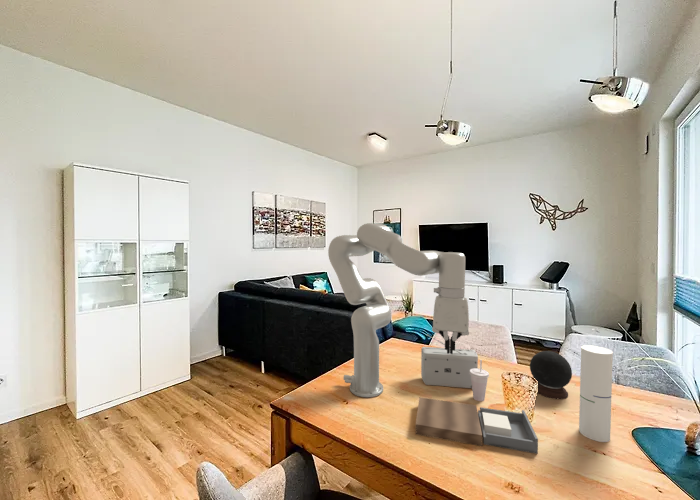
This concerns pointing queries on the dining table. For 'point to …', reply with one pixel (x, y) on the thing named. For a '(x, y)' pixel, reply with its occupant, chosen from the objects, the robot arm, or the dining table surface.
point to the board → (448, 421)
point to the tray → (512, 432)
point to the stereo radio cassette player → (447, 366)
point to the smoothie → (479, 382)
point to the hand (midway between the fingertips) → (449, 352)
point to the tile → (496, 424)
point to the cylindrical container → (595, 392)
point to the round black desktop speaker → (551, 374)
